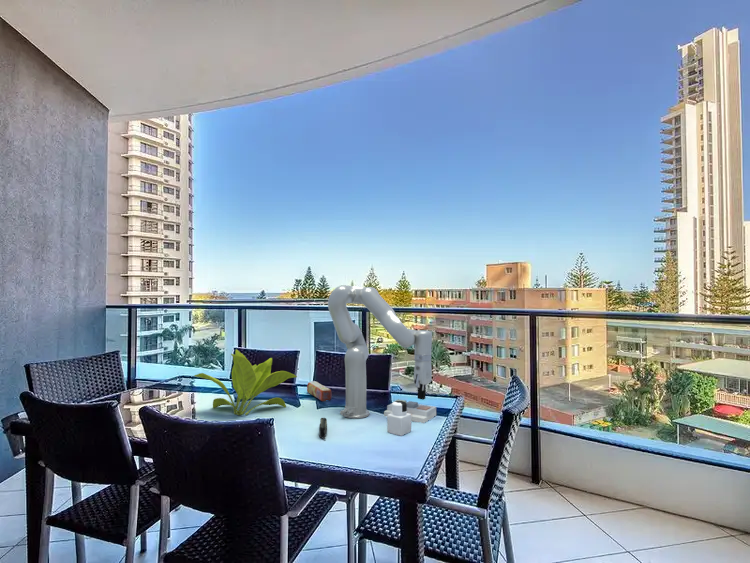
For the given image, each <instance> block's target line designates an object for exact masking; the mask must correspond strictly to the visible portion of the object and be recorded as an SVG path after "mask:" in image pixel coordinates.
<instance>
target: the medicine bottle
mask: <svg viewBox="0 0 750 563" xmlns="http://www.w3.org/2000/svg"><path fill="white" fill-rule="evenodd" d="M394 401H395V402H394ZM394 401H393V402H392V403H391V404H392V413H390V414H388V415H387V416H386V417H387V418H386V426H387V428H386V431H387V433H390V434H392V435H397V436H400V437H402V436H404V434H405V435H406V434H408V433H411V432H412V421H411V414H409V413H407V403H406V402H407V401H406V402H404V401H396V400H394Z"/></svg>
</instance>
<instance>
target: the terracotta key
mask: <svg viewBox="0 0 750 563" xmlns="http://www.w3.org/2000/svg"><path fill="white" fill-rule="evenodd" d="M417 409H421V410H428V409H430V407H426V406H420V407H418V408H417Z"/></svg>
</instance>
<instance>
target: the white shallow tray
mask: <svg viewBox="0 0 750 563" xmlns="http://www.w3.org/2000/svg"><path fill="white" fill-rule="evenodd" d="M407 402H408V401H406V403H407ZM420 406H426V407H430V409H428V410H421V409H417V408H418V407H420ZM418 407H416V408H409V407H407V413H409V414H411V422H415V423H419V422H421V423H420V424H425V422H426V423H427V422H428V420H429V421H430V420H432V419H433V418H435V417H436V416H437V406H434V405H427V404H420V403H418ZM390 413H392V403H390V404H388V405H386V410H384V411H383V417H387V415H388V414H390ZM434 416H435V417H434Z"/></svg>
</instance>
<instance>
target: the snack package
mask: <svg viewBox="0 0 750 563" xmlns="http://www.w3.org/2000/svg"><path fill="white" fill-rule="evenodd" d="M306 392H307V393H308V394H310V395H311V396H313V397H315V398H317V399H318V400H320V401H321V402H327V401H326V400H329V401H331V399H332V389H331V388H328V387H327V386H325V385H323V384H321V383H319V382H318V381H315V380H313V381H312V380H311V381H309V382H308V383H307V385H306Z"/></svg>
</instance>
